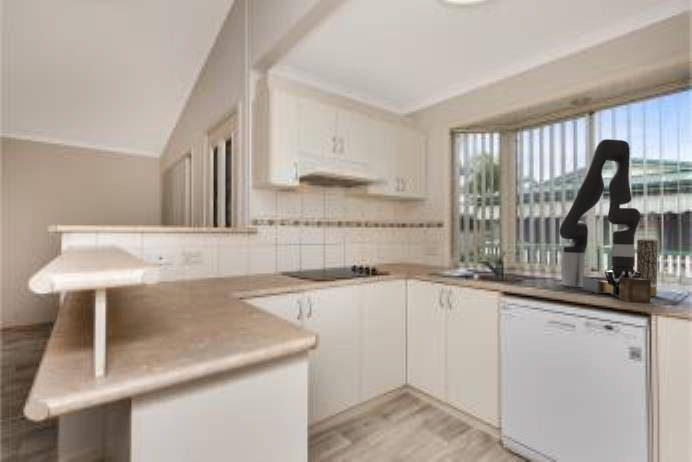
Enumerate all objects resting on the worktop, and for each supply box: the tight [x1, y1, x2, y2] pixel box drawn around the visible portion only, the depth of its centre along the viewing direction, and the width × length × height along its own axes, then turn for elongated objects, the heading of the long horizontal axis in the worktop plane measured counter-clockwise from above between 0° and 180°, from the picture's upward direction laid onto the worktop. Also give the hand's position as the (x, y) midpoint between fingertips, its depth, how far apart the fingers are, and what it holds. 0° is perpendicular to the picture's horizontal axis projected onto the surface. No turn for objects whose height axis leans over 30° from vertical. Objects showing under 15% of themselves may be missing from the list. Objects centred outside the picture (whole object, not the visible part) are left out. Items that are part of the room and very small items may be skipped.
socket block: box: [618, 278, 652, 303], centre depth 136 cm, size 5×8×9 cm, turn 90°
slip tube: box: [601, 281, 614, 295], centre depth 144 cm, size 19×4×4 cm, turn 0°
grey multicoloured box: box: [581, 274, 607, 294], centre depth 156 cm, size 10×8×7 cm
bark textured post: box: [636, 238, 659, 297], centre depth 150 cm, size 7×7×25 cm
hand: (622, 295), depth 142 cm, fingers closed on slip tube, 4 cm apart
